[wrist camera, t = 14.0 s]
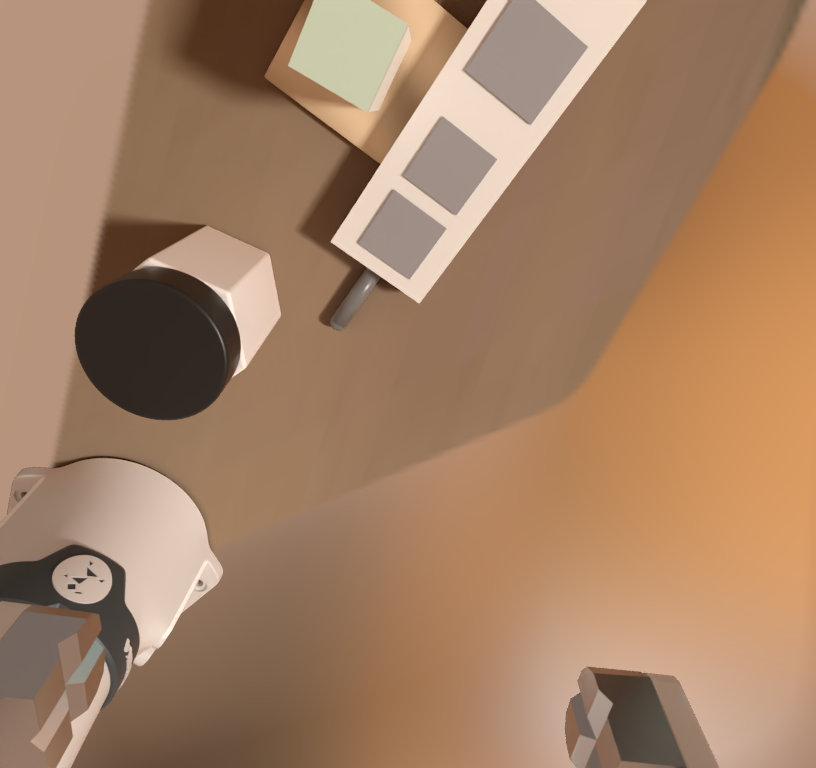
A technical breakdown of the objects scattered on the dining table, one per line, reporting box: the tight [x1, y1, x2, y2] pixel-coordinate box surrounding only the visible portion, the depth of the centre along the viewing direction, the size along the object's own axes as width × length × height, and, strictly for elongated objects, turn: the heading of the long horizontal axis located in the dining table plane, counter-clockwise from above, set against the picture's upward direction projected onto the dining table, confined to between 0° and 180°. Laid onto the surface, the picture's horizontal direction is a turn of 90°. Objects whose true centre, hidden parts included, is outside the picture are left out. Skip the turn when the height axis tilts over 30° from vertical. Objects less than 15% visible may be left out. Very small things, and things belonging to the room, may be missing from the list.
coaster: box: [264, 0, 468, 164], centre depth 35 cm, size 9×9×1 cm
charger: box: [288, 0, 412, 112], centre depth 31 cm, size 4×4×8 cm
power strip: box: [330, 0, 647, 331], centre depth 36 cm, size 30×7×3 cm, turn 145°
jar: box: [75, 226, 281, 420], centre depth 36 cm, size 9×8×12 cm
